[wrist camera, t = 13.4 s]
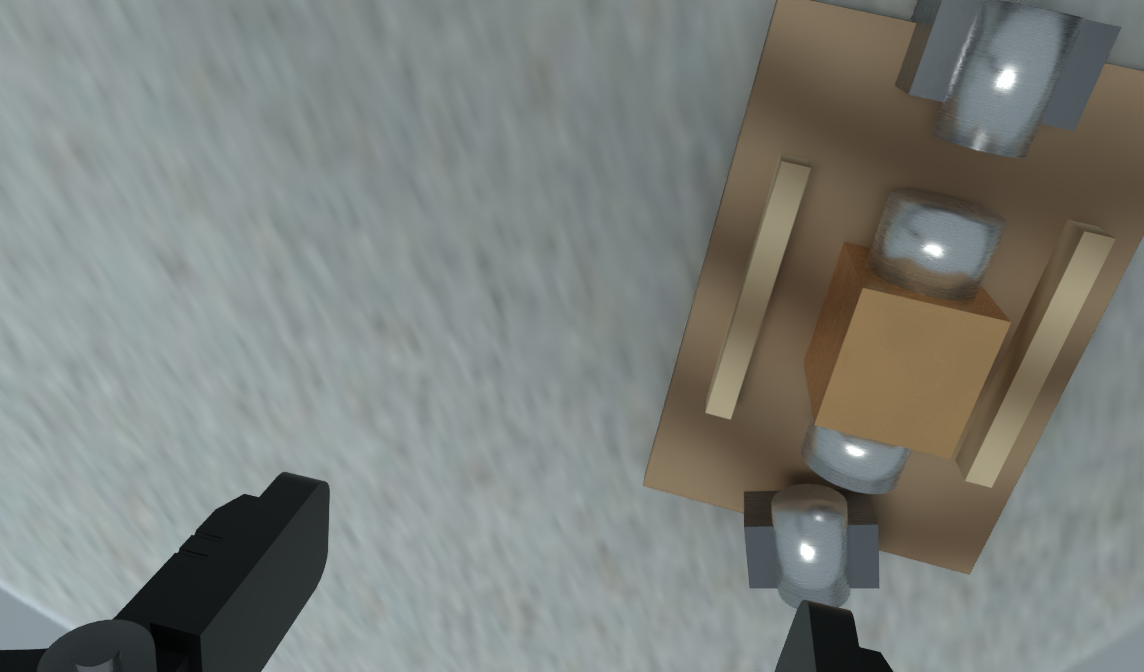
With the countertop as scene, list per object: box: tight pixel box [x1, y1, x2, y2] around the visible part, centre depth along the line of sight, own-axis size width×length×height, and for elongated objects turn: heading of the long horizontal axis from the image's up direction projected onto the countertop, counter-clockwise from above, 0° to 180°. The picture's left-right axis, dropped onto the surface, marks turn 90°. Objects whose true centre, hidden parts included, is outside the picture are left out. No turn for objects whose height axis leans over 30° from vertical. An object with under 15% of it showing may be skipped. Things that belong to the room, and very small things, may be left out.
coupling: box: [800, 189, 1011, 494], centre depth 28 cm, size 10×4×5 cm, turn 170°
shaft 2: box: [895, 0, 1121, 158], centre depth 26 cm, size 4×5×5 cm
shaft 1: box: [744, 484, 879, 609], centre depth 33 cm, size 4×5×5 cm
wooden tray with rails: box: [643, 0, 1144, 575], centre depth 30 cm, size 20×14×2 cm
